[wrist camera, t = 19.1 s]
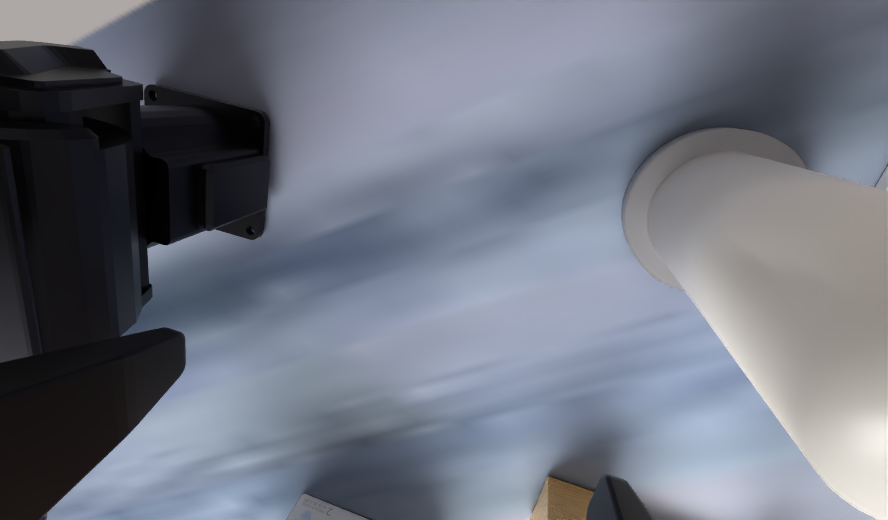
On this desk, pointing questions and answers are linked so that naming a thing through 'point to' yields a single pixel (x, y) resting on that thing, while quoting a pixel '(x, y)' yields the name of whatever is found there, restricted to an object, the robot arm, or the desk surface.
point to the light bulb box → (319, 511)
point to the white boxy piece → (561, 501)
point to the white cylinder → (781, 287)
